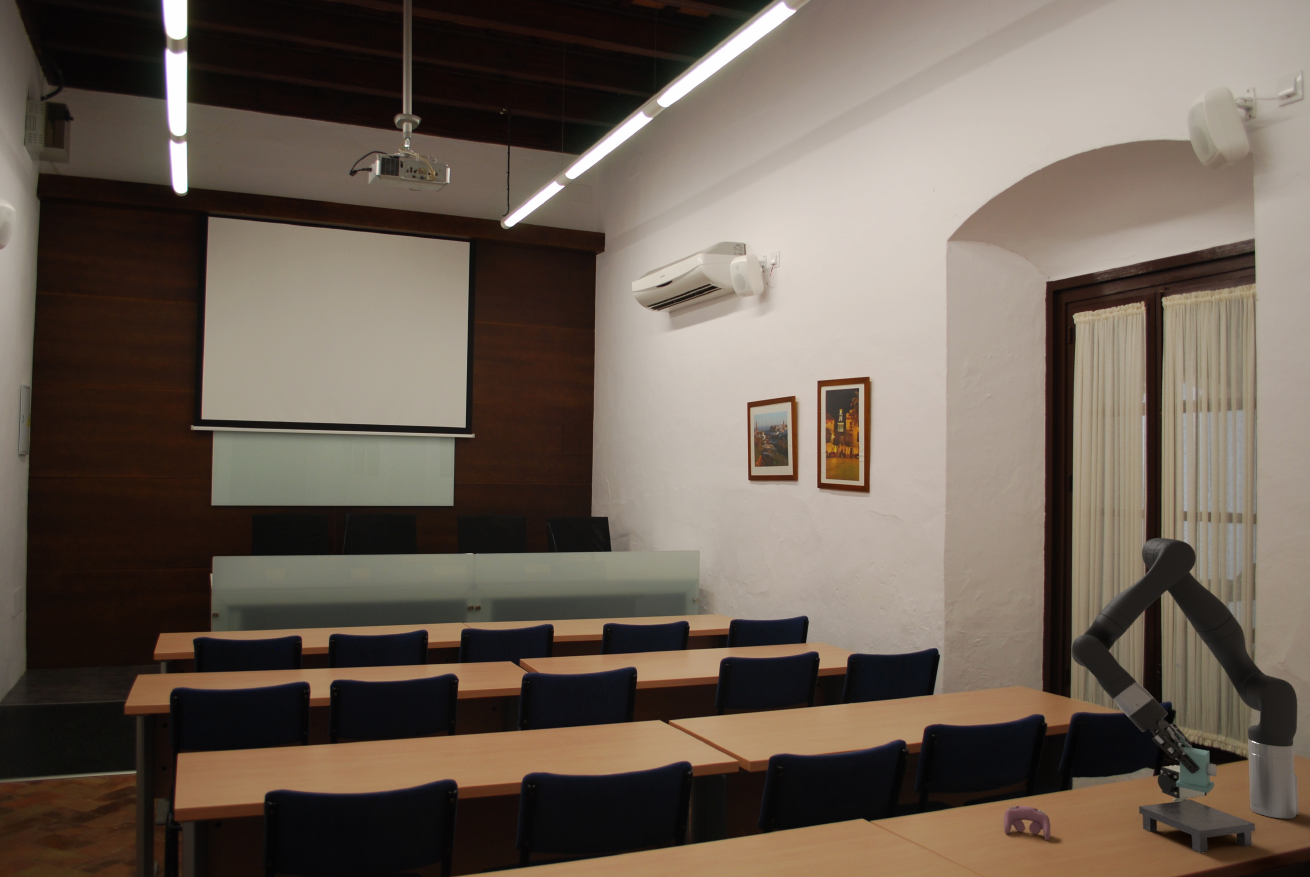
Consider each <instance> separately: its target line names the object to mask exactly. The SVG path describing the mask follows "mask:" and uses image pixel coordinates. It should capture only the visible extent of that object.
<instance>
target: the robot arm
mask: <svg viewBox="0 0 1310 877" xmlns="http://www.w3.org/2000/svg"><path fill="white" fill-rule="evenodd" d="M1141 556H1142V557H1141V558H1142V560H1143V563H1144V565H1145V567H1146V568H1147V570H1148V571H1147V572H1146V573H1145V574H1144V575H1143V576H1142V577H1141V578H1140V579H1138V580H1137V581H1136V582H1135V583H1133V584H1132V585H1131V586H1129V587H1128V588H1126V589H1124V590H1123V591H1121V592H1120V593H1118V594H1117V595H1116V596H1115V597H1113V598H1112V599H1110V601H1109V602H1108V603H1107V604H1106V605H1105V606H1104V607H1103V609H1102V610H1101V611H1100V612H1099V613H1098V614H1097V616H1096V617H1095V618H1094V620H1093V623H1092V624H1091V625H1090V627H1089V628H1088V629H1087V630H1086V631H1085V632H1084V633H1083V634H1082V635H1079V636H1078V637H1076V638H1075V639H1074V640H1073V643H1072V645H1071V651H1070V652H1071V655H1072V658H1073V660H1074V662H1076V664H1078V665H1079V666H1081V667H1084V668H1086V669H1087V670H1088V671H1089V672H1090V673H1091V674H1092V676H1094V677H1095V678H1096V680H1097V683H1098V684H1099V685H1100V687H1101V688H1102V690H1104V692H1105V693H1106V694H1107V695H1108V696H1109V697H1110V698H1111V699H1112V700H1113V701H1114V703H1115V704H1116V705H1117V706H1118V708H1119V709H1120V710H1121V711H1122V712H1123V713H1124V715H1126V716H1127V717H1128V719H1129V720H1130V721H1131V722H1132V723H1133V724H1134V725H1135V727H1137V728H1138V730H1139V731H1141V732H1142V733H1144V732H1147V731H1148V730H1150V732H1151V733H1152V735H1153V737H1152V738H1151V740H1152V741H1153V742H1154V743H1155V744H1156V746H1158V747H1159V748H1160V749H1161V750H1162V751H1163V752H1164V753H1165V754H1167V755H1168V756H1169V758H1171V760H1177V761H1178V762H1179V763H1180V762H1181V763H1182V764H1183V765H1184V766H1185V767H1186V769H1187V770H1188V771H1189V772H1190V773H1192V774H1194V773H1195V772H1197V771H1198V770H1199V769H1200V768H1199V766H1198V765H1197V764H1196V763H1195V762H1194V761H1193V760H1192V759H1191V758H1190V757H1189V756H1188V755H1186V752H1185V751H1184V750H1183V749H1182V748H1183V747H1189V748H1193V743H1192V742H1191V740H1189V738H1187V736H1186V735H1185V734H1184V733H1183V731H1182V730H1181V729H1180V728H1179V727H1178V725H1177V724H1176V723H1174V722H1173V723H1171V724H1170V723H1169V722H1168V721H1167V720H1165V719H1164V718H1165V717H1166V716H1167V715H1168V714H1169V713H1168V711H1167V710H1166V708H1164V706H1162V705H1161V704H1160V703H1159V701H1157V700H1156V698H1155V697H1153V695H1151V693H1150V692H1149V691H1148V690H1147V689H1146V688H1145V687H1144V686H1142V685H1141V684H1140V683H1138V681H1137V680H1136V679H1135V678H1134V677H1133V676H1132V675H1131V674H1130V673H1129V672H1128V671H1127V670H1126V669H1125V668H1123V667H1122V665H1121V664H1120V663H1119V662H1118V661H1117V659H1116V658H1115V656H1113V654H1112V653H1111V652H1110V650H1111V648H1112V647H1113V645H1114V644H1115V643H1116V642H1117V641H1118V640H1119V639H1120V638H1122V636H1123V635H1124V634H1126V632H1127V631H1128V630H1129V628H1131V626H1132V625H1133V624H1134V622H1136V620H1137V619H1138V618H1139V617H1140V616H1141V615H1142V614H1143V613H1144V612H1145V611H1146V610H1147V609H1148V608H1149V607H1150V606H1151V605H1152V604H1153V603H1154V602H1155V601H1157V599H1159V598H1160V597H1161V596H1162V595H1163V594H1165V592H1168V593H1169V595H1171V597H1172V599H1173V600H1174V602H1175V603H1176V605H1177V606H1178V607H1179V609H1180V610H1181V612H1182V613H1183V614H1184V616H1185V617H1186V618H1187V620H1188V621H1189V623H1190V625H1191V626H1192V628H1193V629H1194V630H1195V632H1196V633H1197V635H1198V636H1199V638H1201V640H1202V641H1203V642H1204V644H1205V645H1206V647H1208V650H1210V652H1211V653H1212V655H1213V656H1214V657H1215V659H1216V661H1218V663H1219V664H1220V666H1221V667H1222V668H1223V670H1224V672H1225V673H1226V675H1227V677H1228V678H1229V680H1230V682H1231V683H1232V686H1233V687H1234V689H1235V691H1236V693H1237V694H1238V695H1239V698H1240V699H1241V700H1242V702H1243V703H1244V704H1245V705H1246V706H1248V707H1249V708H1251V709H1253V710H1255V711H1258V712H1259V715H1260V716H1259V723H1258V724H1256V725H1251V726H1250V727H1248V729H1247V738H1248V739H1247V741H1248V742H1247V744H1248V746H1247V748H1248V770H1249V771H1248V772H1249V776H1248V777H1249V799H1250V800H1249V801H1250V803H1249V804H1250V805H1249V806H1250V810H1251V811H1252V812H1254V813H1256V814H1259V815H1261V816H1266V817H1270V818H1276V819H1284V820H1285V819H1295V818H1296V816H1297V815H1299V798H1298V796H1299V795H1298V794H1299V792H1298V790H1299V789H1298V776H1297V774H1295V758H1294V757H1295V756H1294V755H1295V754H1294V738H1295V736H1296V733H1297V728H1298V725H1297V724H1298V699H1297V698H1298V697H1297V693H1296V691H1295V688H1294V687H1293V685H1292V684H1291V683H1290V682H1289V681H1287V680H1285V679H1281V678H1279V677H1275V676H1270V675H1268V674H1265V673H1264V672H1263V671H1262V670H1260V668H1259V667H1258V666H1257V665H1256V663H1255V662H1254V661H1253V659H1252V658H1251V657H1250V655H1249V653H1248V651H1247V647H1246V639H1245V637H1246V636H1245V633H1244V630H1243V628H1242V626H1241V625H1240V623H1239V621H1238V620H1237V619H1236V617H1235V616H1234V614H1233V613H1232V612H1231V610H1230V608H1228V606H1227V605H1225V603H1223V602H1222V601H1221V599H1219V598H1218V597H1217V596H1216V595H1215V594H1213V593H1212V592H1211V591H1210V590H1209V589H1207V588H1206V587H1205V586H1204V585H1203V584H1201V583H1200V582H1199V581H1198V580H1197V579H1196V578H1195V577H1194V576H1193V574H1192V573H1191V572H1190V571H1191V570H1192V569H1193V568H1194V566H1195V564H1196V559H1197V558H1196V557H1197V556H1196V551H1195V549H1194V548H1193V546H1192V545H1191V544H1189V543H1188V542H1186V541H1183V540H1180V539H1176V538H1175V539H1173V538H1167V537H1166V538H1165V537H1156V538H1151V539H1149V540H1147V541H1146V542H1145V543H1144V544H1143V547H1142V550H1141Z"/></svg>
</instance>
